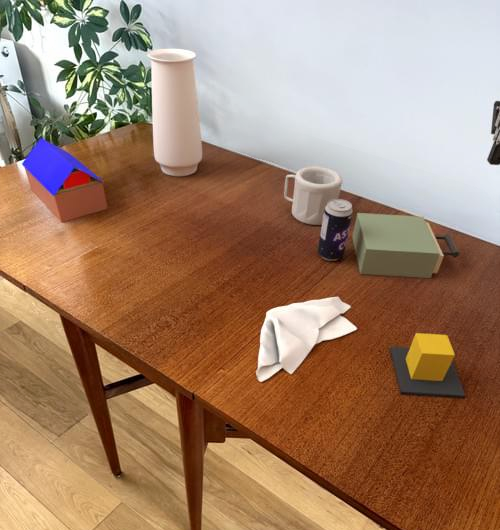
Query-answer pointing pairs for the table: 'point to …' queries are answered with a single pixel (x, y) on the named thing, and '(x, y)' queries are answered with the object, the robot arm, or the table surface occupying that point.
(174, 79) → the vase
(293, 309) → the cloth
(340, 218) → the beverage can
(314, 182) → the mug
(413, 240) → the cabinet
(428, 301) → the table surface
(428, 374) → the yellow block
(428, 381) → the mat
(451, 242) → the drawer
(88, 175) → the house
